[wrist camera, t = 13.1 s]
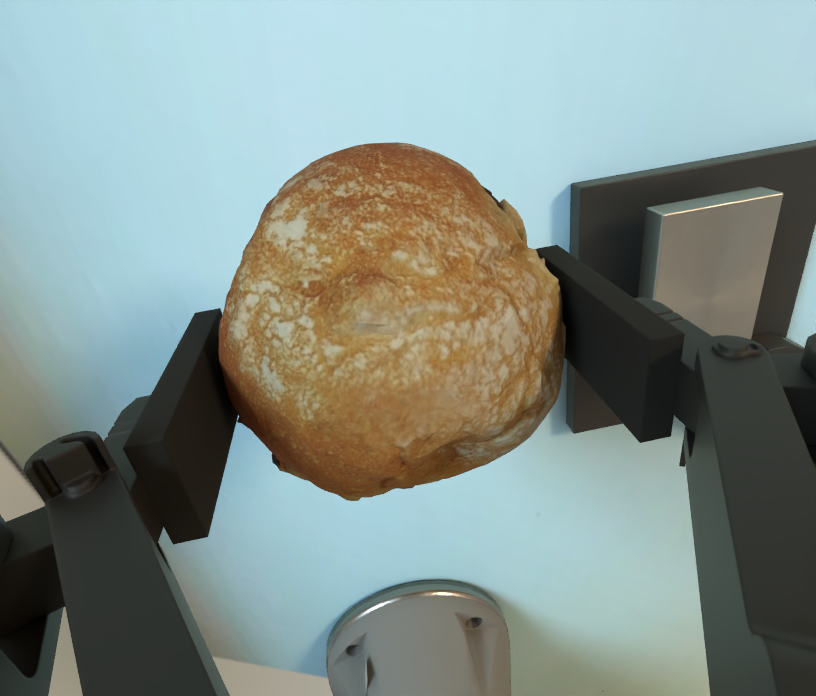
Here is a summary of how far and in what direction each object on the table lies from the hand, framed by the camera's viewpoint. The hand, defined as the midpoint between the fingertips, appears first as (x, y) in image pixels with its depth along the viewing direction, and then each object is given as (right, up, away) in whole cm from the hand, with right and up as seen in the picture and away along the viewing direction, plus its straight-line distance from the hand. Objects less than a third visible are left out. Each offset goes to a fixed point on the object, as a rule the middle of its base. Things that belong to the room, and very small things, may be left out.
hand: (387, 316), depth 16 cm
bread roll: (0, 0, 0) cm, 0 cm away
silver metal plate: (+16, +2, +11) cm, 19 cm away
